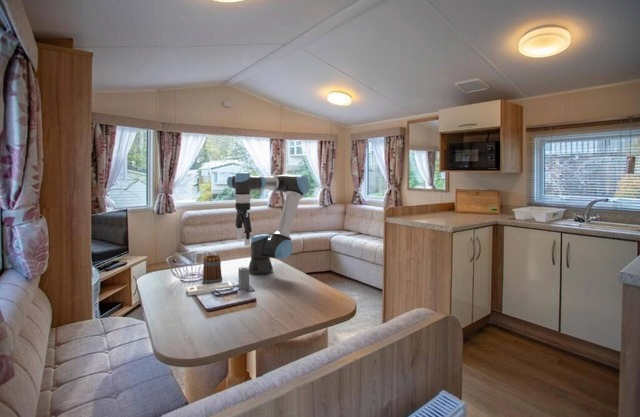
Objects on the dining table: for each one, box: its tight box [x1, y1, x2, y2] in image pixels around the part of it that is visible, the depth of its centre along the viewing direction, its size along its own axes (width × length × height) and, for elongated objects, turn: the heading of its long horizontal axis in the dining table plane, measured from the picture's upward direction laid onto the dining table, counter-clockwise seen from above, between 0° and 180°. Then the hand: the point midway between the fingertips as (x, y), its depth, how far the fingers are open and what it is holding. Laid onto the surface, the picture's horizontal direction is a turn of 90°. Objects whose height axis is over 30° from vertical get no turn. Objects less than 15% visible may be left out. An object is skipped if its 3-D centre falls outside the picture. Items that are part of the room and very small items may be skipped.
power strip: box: [186, 280, 239, 296], centre depth 183 cm, size 28×7×4 cm, turn 118°
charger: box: [238, 266, 250, 290], centre depth 185 cm, size 4×4×12 cm
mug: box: [201, 253, 223, 285], centre depth 197 cm, size 16×11×15 cm
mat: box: [245, 284, 256, 293], centre depth 186 cm, size 9×9×1 cm
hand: (243, 242), depth 184 cm, fingers open, 13 cm apart
